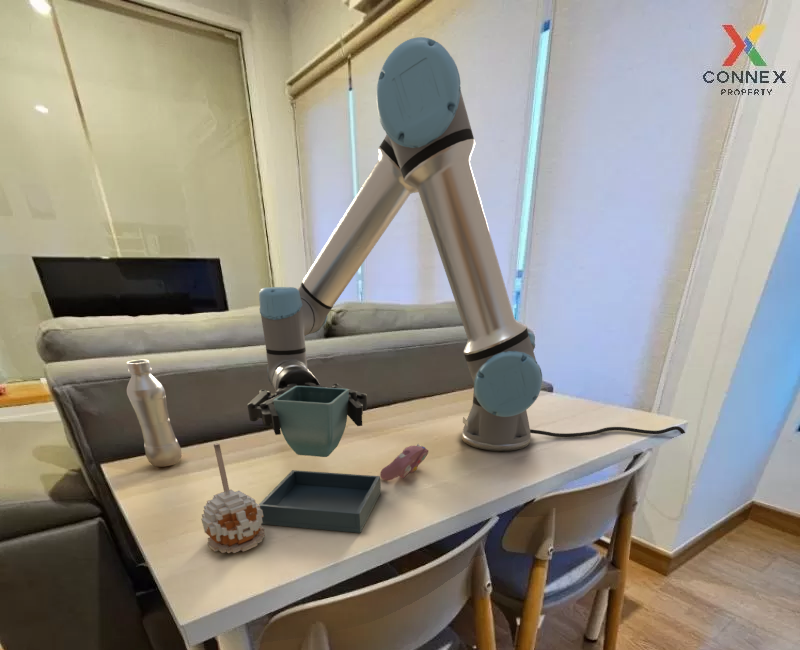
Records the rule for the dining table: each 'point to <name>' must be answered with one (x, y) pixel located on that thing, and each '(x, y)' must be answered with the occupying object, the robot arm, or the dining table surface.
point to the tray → (322, 501)
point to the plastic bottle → (152, 415)
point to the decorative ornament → (232, 517)
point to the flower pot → (312, 418)
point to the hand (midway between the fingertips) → (319, 421)
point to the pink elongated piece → (404, 462)
